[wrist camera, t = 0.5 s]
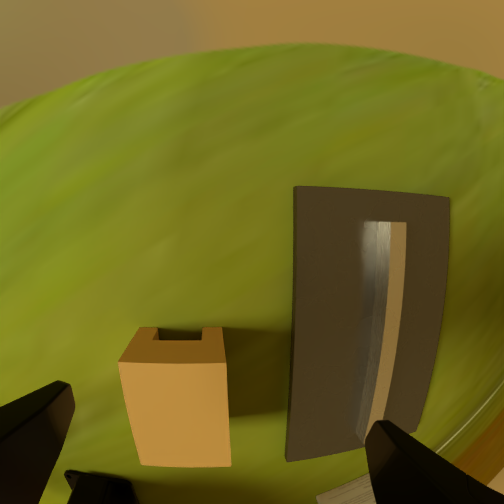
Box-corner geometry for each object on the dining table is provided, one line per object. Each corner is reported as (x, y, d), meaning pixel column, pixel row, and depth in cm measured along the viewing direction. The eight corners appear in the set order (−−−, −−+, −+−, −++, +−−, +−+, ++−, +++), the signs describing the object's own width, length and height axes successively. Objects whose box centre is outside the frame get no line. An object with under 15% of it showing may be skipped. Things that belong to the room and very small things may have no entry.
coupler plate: (411, 426, 22) (425, 440, 20) (284, 456, 21) (291, 475, 18) (442, 197, 20) (463, 196, 18) (293, 187, 19) (304, 182, 16)
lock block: (225, 417, 20) (231, 466, 14) (152, 417, 19) (141, 464, 14) (221, 326, 19) (226, 362, 14) (139, 327, 18) (117, 362, 13)
